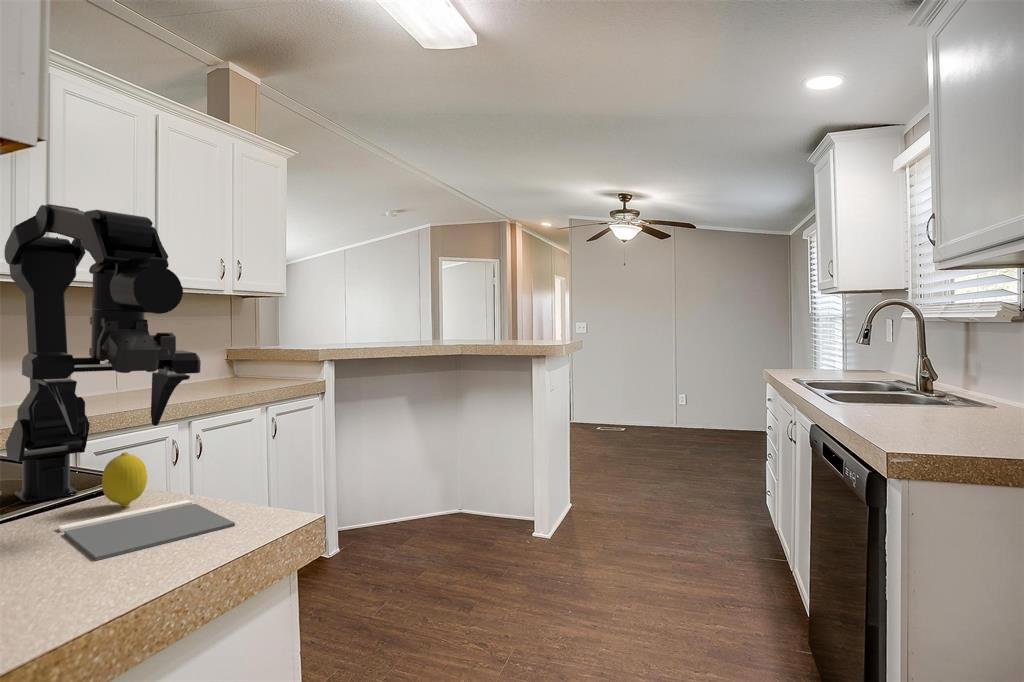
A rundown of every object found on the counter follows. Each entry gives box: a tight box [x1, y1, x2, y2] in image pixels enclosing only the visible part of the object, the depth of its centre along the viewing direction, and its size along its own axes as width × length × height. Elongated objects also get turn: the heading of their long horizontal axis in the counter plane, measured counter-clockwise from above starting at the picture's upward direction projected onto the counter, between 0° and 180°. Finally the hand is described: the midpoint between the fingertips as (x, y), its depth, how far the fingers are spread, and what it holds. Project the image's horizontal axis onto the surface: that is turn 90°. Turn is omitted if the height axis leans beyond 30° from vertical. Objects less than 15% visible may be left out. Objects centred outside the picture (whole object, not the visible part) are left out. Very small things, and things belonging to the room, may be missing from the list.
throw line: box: [57, 499, 193, 533], centre depth 83 cm, size 2×16×1 cm, turn 141°
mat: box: [63, 503, 236, 561], centre depth 78 cm, size 12×16×1 cm
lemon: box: [101, 451, 148, 508], centre depth 87 cm, size 6×6×8 cm
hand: (116, 429), depth 78 cm, fingers open, 9 cm apart
